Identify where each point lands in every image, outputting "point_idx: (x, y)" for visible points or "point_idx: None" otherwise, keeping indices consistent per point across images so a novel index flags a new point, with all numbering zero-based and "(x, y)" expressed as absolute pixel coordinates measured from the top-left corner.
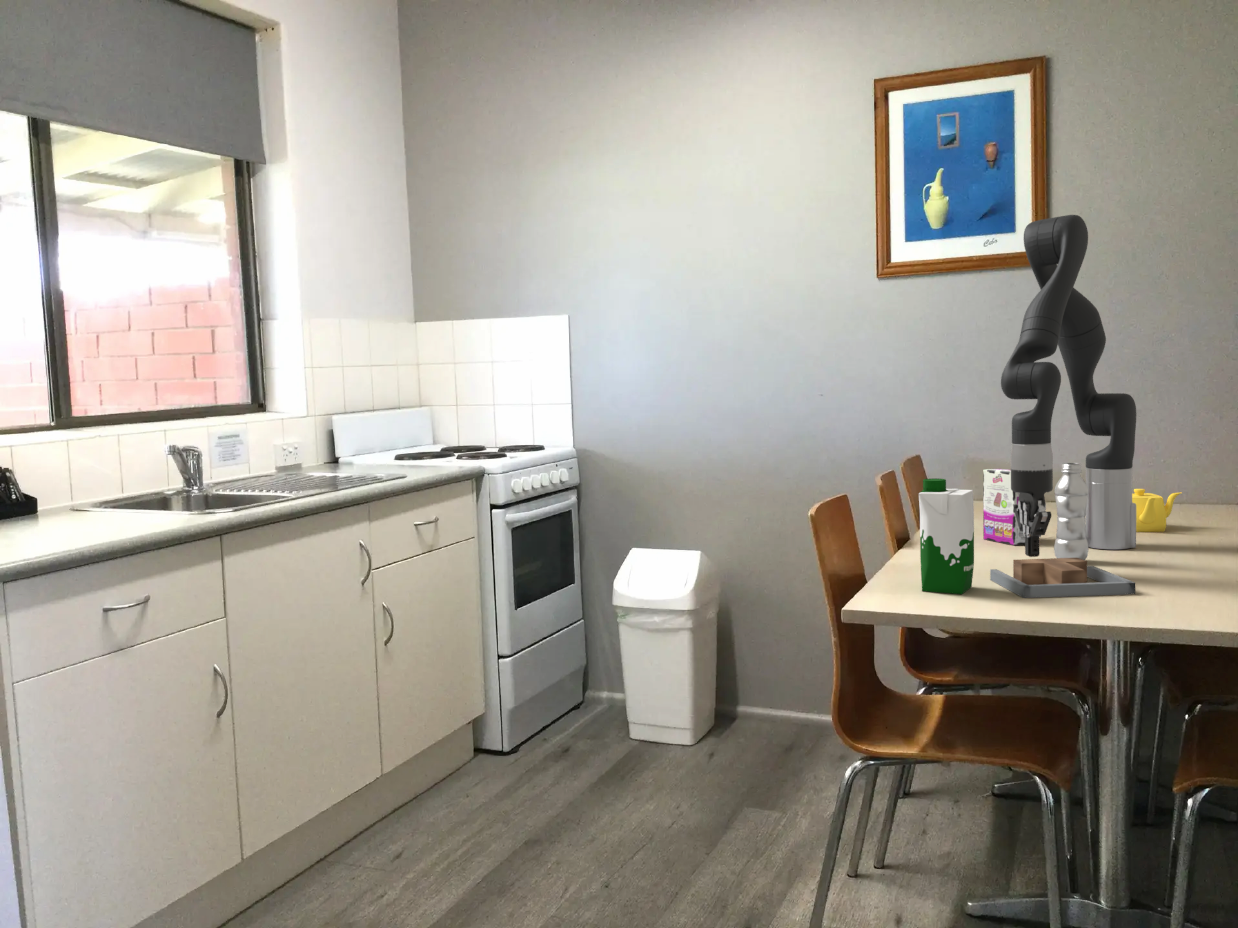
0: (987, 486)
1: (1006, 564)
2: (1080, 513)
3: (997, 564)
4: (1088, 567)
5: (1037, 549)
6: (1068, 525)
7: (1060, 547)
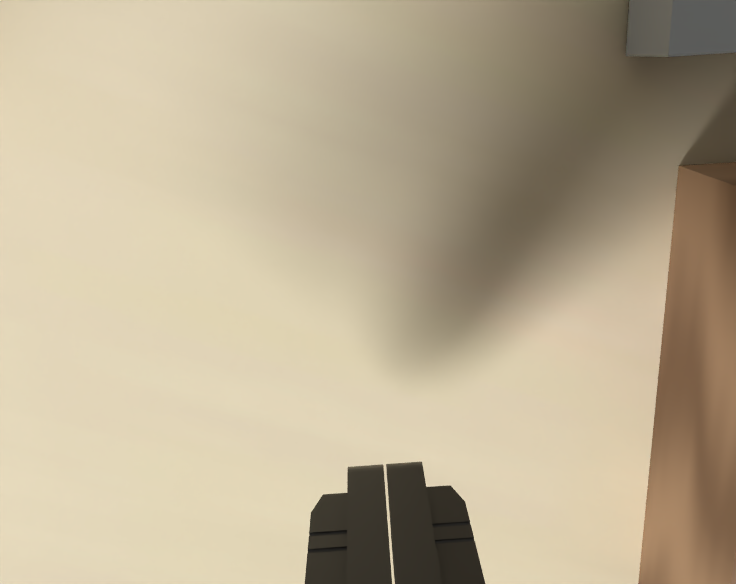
0: None
1: (22, 491)
2: None
3: (25, 545)
4: (702, 54)
5: (466, 527)
6: None
7: None
